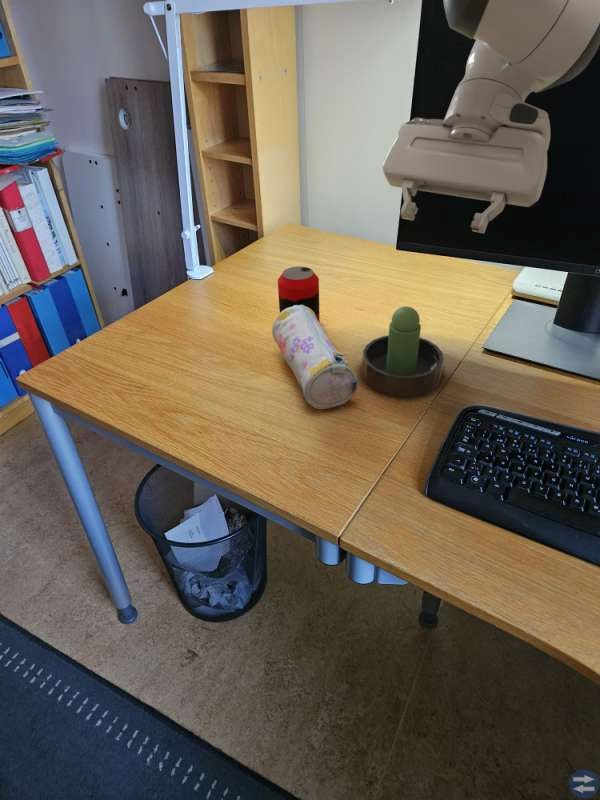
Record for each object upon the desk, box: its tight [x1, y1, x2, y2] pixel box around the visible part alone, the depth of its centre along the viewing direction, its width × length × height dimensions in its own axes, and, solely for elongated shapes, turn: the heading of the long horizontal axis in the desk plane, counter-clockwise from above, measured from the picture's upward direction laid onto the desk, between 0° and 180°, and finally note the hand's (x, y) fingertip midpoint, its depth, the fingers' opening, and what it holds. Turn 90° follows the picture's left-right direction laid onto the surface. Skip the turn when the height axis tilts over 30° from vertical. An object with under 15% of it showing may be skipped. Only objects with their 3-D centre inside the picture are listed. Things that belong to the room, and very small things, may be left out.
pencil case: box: [271, 305, 358, 410], centre depth 93 cm, size 21×9×10 cm, turn 18°
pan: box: [361, 334, 445, 399], centre depth 94 cm, size 13×13×4 cm
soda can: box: [277, 266, 321, 324], centre depth 105 cm, size 8×8×12 cm
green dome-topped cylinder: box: [386, 306, 422, 376], centre depth 92 cm, size 5×5×12 cm
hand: (440, 223), depth 71 cm, fingers open, 8 cm apart
